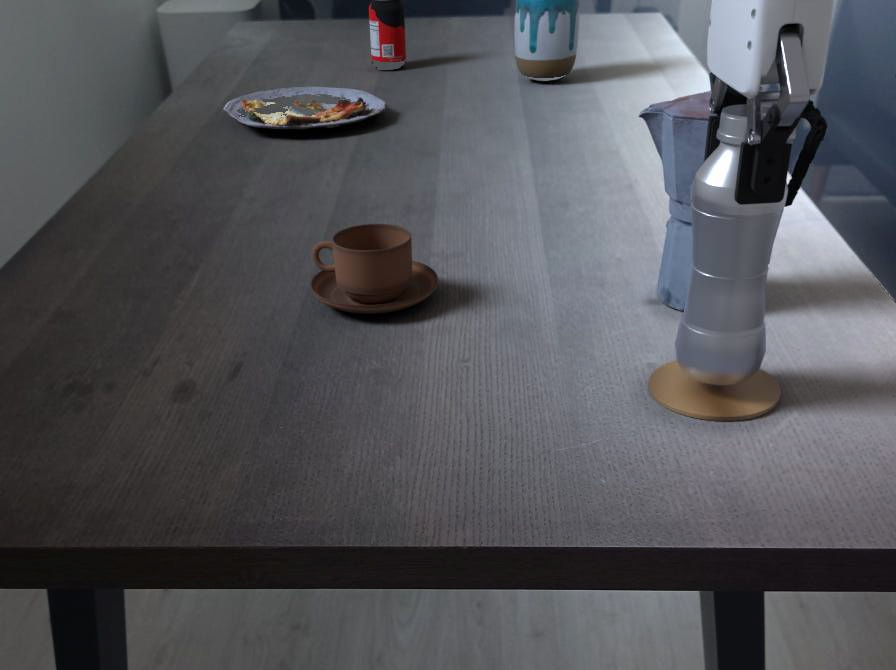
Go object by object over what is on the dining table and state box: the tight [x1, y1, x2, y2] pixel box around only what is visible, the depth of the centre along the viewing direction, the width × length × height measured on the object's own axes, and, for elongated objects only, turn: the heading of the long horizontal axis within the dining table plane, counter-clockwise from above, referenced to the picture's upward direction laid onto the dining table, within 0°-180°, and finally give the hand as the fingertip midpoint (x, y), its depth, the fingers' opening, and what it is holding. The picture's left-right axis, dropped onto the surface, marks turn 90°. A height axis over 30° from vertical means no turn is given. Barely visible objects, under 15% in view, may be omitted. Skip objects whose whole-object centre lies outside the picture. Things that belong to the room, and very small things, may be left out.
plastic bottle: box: [674, 105, 788, 385], centre depth 75 cm, size 6×7×20 cm
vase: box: [513, 0, 580, 83], centre depth 171 cm, size 11×11×19 cm
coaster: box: [648, 359, 782, 422], centre depth 81 cm, size 10×10×1 cm
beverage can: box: [368, 0, 407, 62], centre depth 187 cm, size 6×6×12 cm
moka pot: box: [638, 71, 828, 312], centre depth 91 cm, size 10×15×20 cm, turn 78°
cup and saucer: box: [310, 223, 439, 315], centre depth 97 cm, size 12×12×6 cm
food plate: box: [222, 86, 388, 130], centre depth 158 cm, size 25×23×4 cm
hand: (741, 184), depth 72 cm, fingers closed on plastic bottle, 6 cm apart
